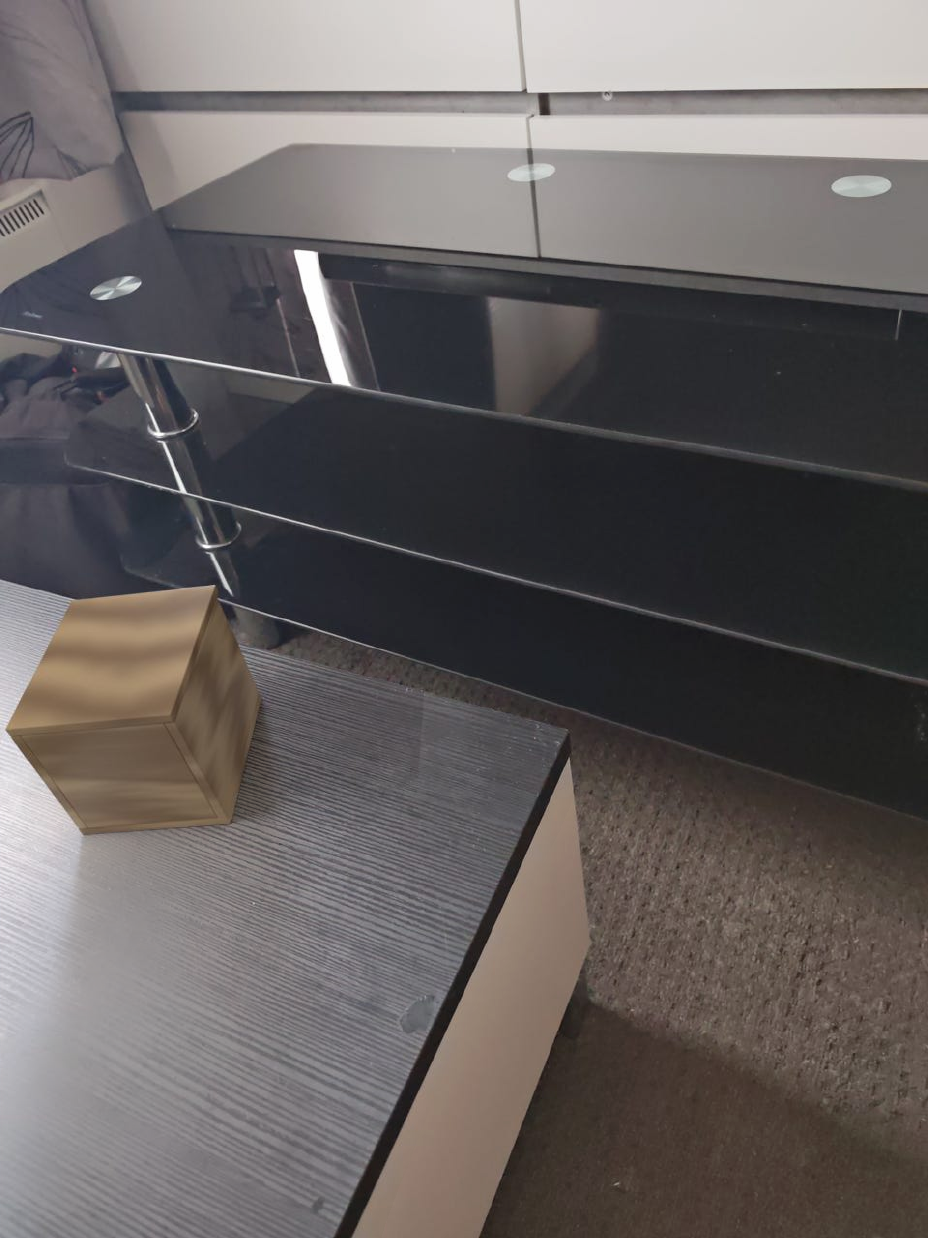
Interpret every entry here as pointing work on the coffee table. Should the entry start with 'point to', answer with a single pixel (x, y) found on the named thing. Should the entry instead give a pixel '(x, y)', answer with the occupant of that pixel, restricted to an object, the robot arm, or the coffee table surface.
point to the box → (160, 752)
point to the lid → (116, 662)
